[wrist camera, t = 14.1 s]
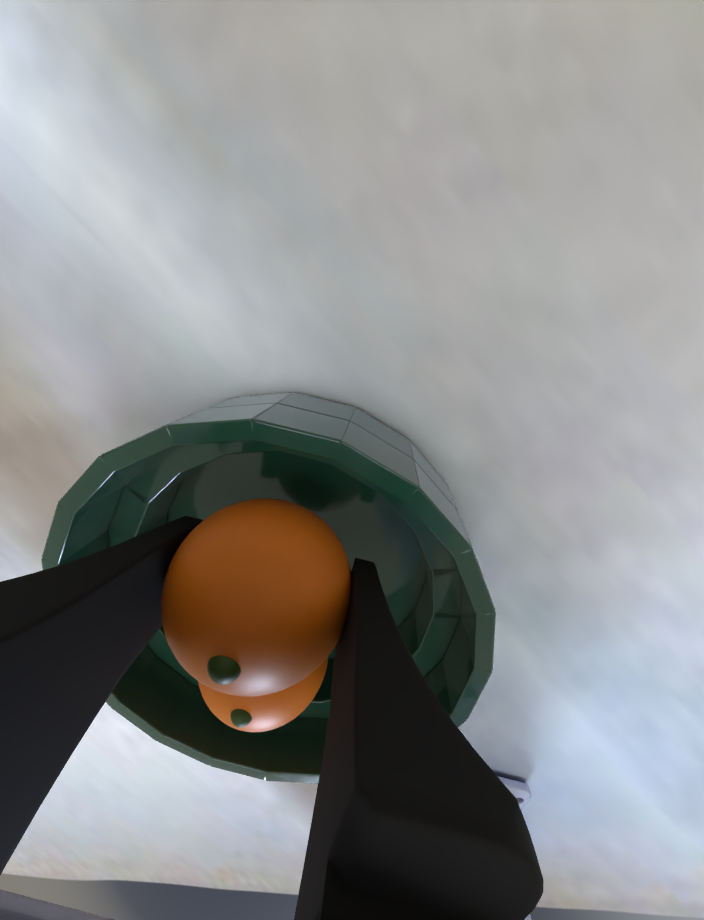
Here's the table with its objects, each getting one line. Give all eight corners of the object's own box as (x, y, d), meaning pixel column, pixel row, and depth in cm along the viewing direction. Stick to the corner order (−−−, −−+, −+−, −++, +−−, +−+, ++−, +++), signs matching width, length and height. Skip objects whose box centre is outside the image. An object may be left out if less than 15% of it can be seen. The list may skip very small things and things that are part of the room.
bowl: (408, 700, 19) (415, 820, 14) (141, 632, 19) (61, 728, 14) (516, 442, 14) (583, 499, 9) (142, 351, 14) (16, 361, 9)
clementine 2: (325, 657, 18) (300, 788, 13) (226, 632, 18) (161, 753, 13) (346, 576, 16) (327, 692, 11) (236, 549, 16) (165, 651, 11)
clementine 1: (342, 610, 13) (314, 780, 8) (212, 578, 13) (105, 727, 8) (374, 492, 12) (364, 619, 6) (223, 455, 12) (95, 551, 7)
